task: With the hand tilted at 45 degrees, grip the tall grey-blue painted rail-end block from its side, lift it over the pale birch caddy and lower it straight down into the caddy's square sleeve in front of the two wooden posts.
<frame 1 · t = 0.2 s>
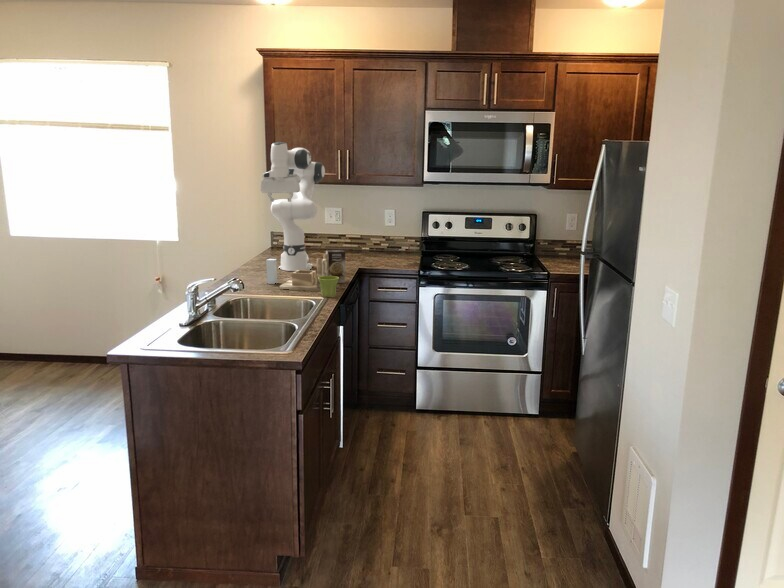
hand: (280, 202, 315), 39 cm above the countertop, tool pointing down, fingers open, 8 cm apart
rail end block: (271, 283, 308), on the countertop
caddy: (304, 286, 301), on the countertop
plant pot: (328, 296, 282), on the countertop
coffee box: (335, 282, 314), on the countertop
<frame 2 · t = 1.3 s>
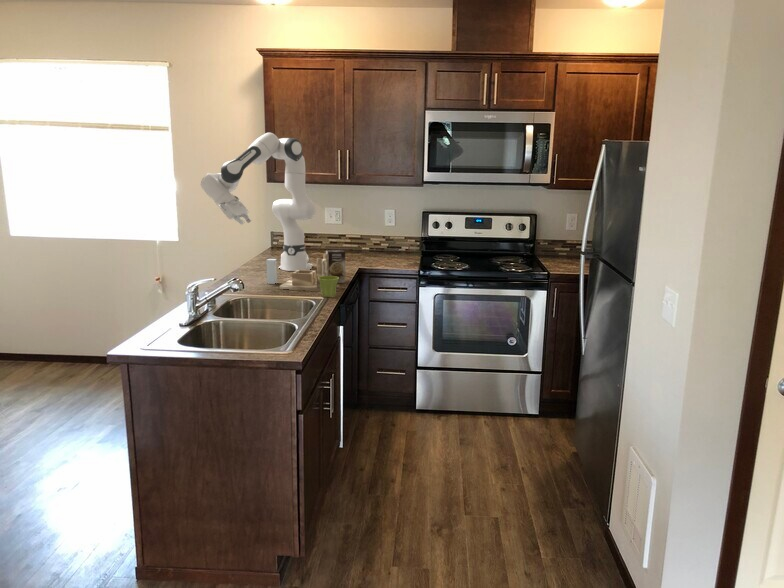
hand: (246, 222, 303), 30 cm above the countertop, tool tilted 45°, fingers open, 8 cm apart
nothing on the countertop moved.
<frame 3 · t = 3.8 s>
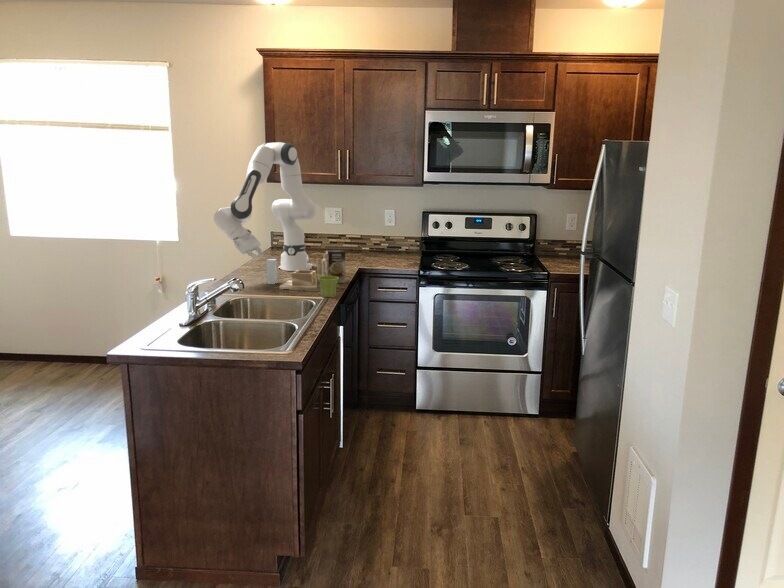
hand: (259, 256, 305), 13 cm above the countertop, tool tilted 45°, fingers open, 8 cm apart
nothing on the countertop moved.
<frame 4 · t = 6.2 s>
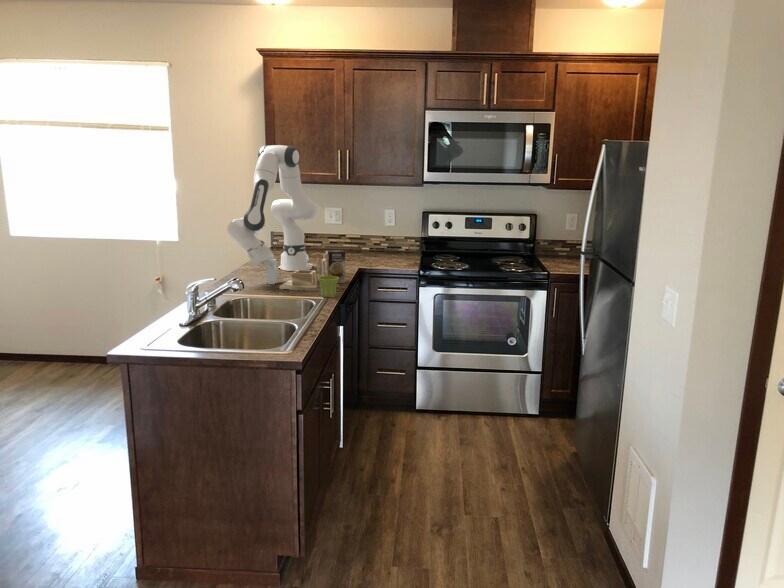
hand: (272, 267, 306), 8 cm above the countertop, tool tilted 45°, fingers closed on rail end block, 4 cm apart
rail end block: (271, 283, 308), on the countertop, touching gripper
everything else where it was.
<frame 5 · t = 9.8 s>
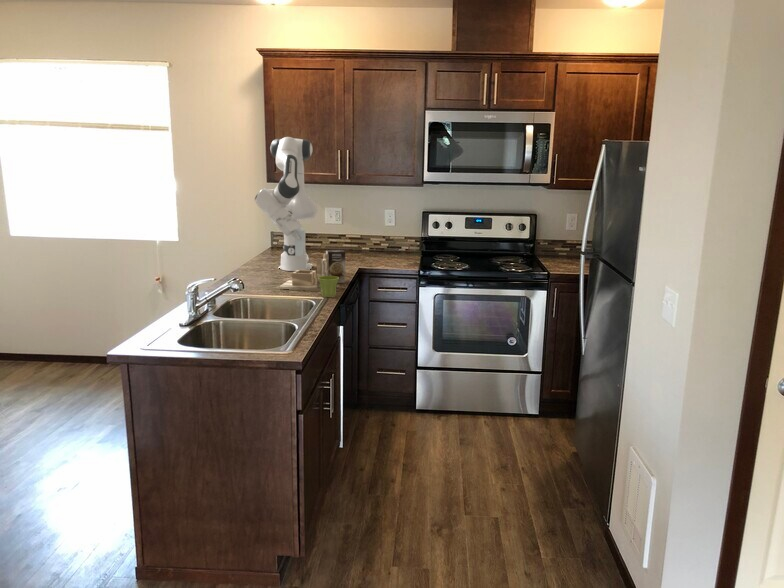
hand: (301, 238, 296), 24 cm above the countertop, tool tilted 45°, fingers closed on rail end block, 4 cm apart
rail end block: (300, 254, 298), point 16 cm above the countertop, touching gripper
everything else where it was.
when the fingers open (11 cm above the countertop, at t = 13.4 s): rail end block drops 1 cm, resting on caddy.
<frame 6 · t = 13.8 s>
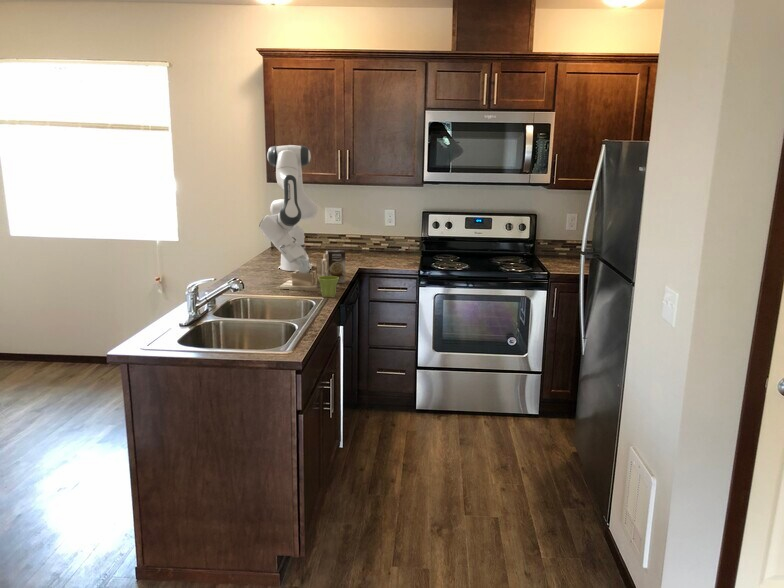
hand: (305, 265, 298), 11 cm above the countertop, tool tilted 45°, fingers open, 8 cm apart
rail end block: (304, 283, 300), point 1 cm above the countertop, touching caddy
everything else where it was.
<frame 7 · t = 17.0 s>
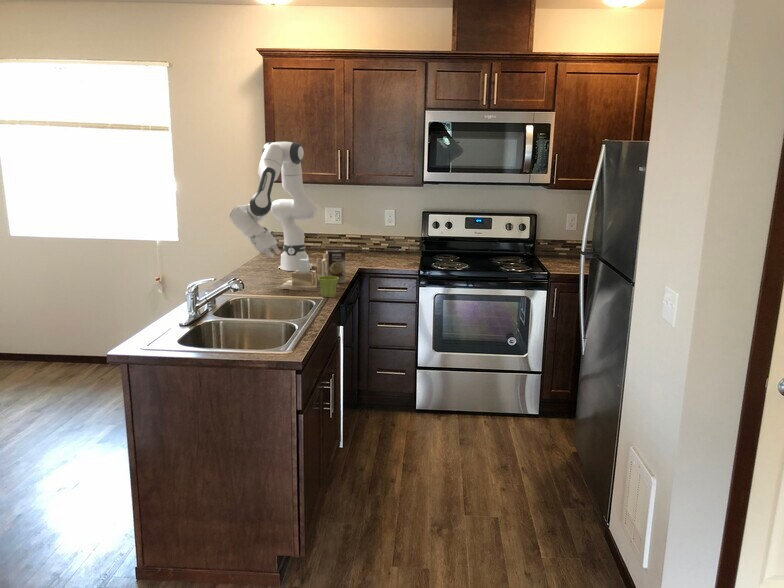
hand: (276, 254, 300), 15 cm above the countertop, tool tilted 45°, fingers open, 8 cm apart
nothing on the countertop moved.
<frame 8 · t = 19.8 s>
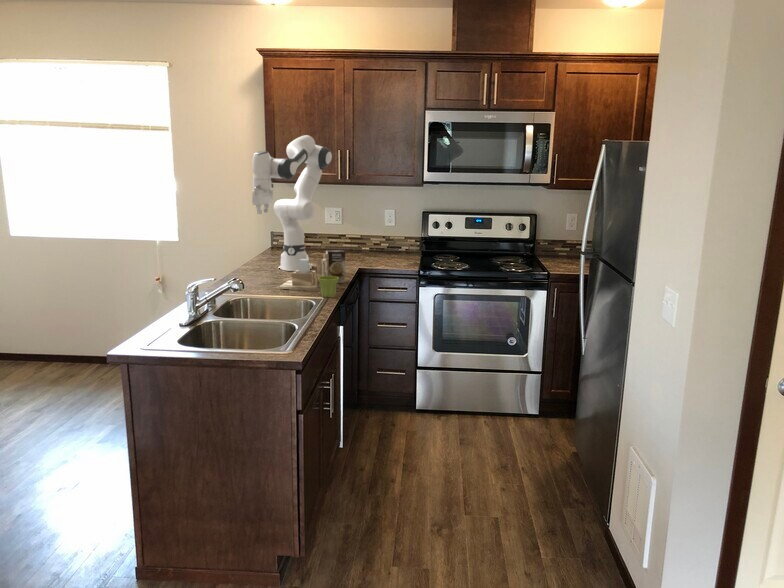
hand: (262, 213, 307), 34 cm above the countertop, tool pointing down, fingers open, 8 cm apart
nothing on the countertop moved.
at the end: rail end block 0.0 cm off-centre on the caddy, point 1.5 cm above the caddy's base; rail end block tilted 0°; the gripper is holding nothing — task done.
